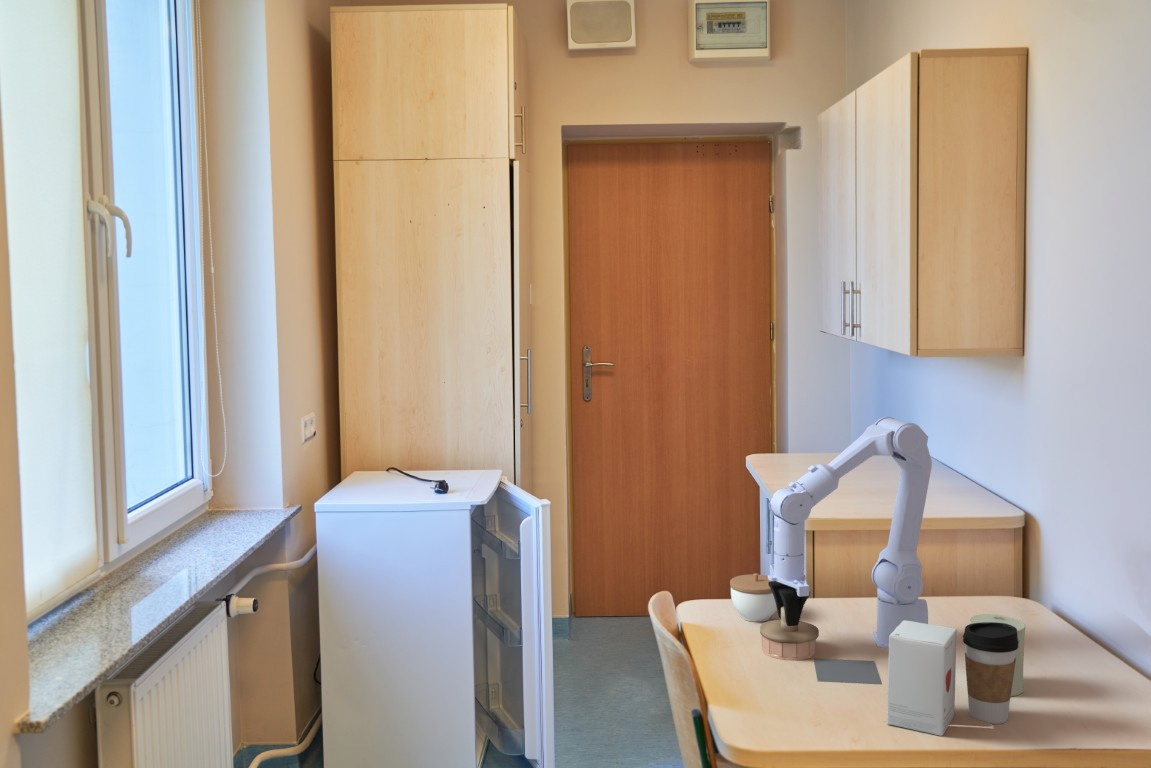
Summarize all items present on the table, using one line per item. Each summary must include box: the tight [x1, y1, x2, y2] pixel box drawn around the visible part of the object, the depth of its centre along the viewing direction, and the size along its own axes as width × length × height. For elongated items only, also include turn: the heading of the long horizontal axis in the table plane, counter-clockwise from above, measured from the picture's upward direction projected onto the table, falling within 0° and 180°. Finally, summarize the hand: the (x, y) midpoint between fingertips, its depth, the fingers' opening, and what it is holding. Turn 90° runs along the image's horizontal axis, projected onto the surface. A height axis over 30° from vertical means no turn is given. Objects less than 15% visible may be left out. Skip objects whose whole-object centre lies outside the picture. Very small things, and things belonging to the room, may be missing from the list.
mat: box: [813, 657, 882, 685], centre depth 188 cm, size 11×11×1 cm
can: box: [968, 613, 1026, 697], centre depth 180 cm, size 9×9×12 cm
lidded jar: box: [729, 572, 777, 623], centre depth 218 cm, size 11×11×9 cm
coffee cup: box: [962, 622, 1019, 725], centre depth 168 cm, size 8×8×15 cm
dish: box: [761, 635, 817, 661], centre depth 198 cm, size 10×10×4 cm
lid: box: [759, 607, 820, 643], centre depth 198 cm, size 11×11×5 cm
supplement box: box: [886, 620, 958, 737], centre depth 167 cm, size 9×9×15 cm
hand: (788, 621), depth 198 cm, fingers closed on lid, 3 cm apart
